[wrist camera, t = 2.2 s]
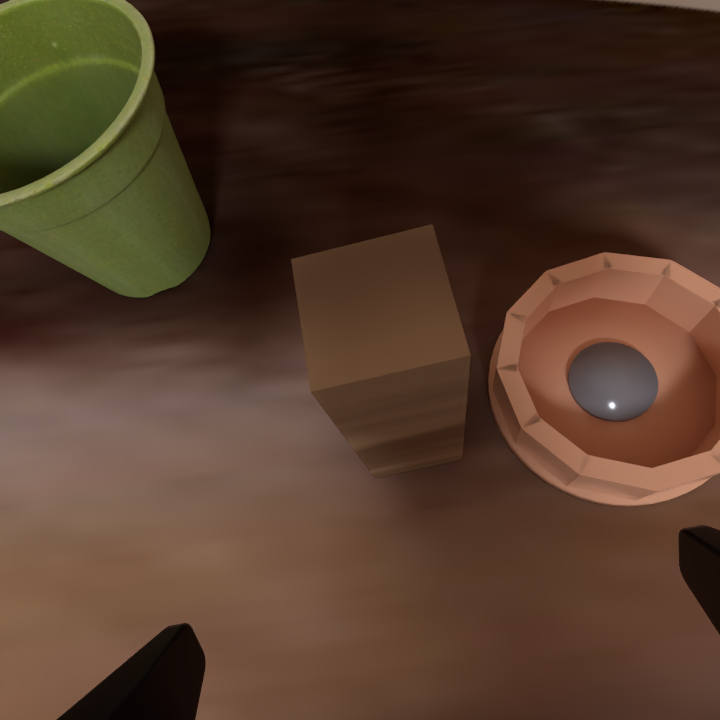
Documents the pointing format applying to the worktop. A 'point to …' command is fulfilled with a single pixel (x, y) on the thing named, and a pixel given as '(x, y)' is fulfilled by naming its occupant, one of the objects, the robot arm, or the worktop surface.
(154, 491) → the worktop surface
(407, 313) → the tall square post
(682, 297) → the tan shallow dish
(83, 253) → the plant pot
